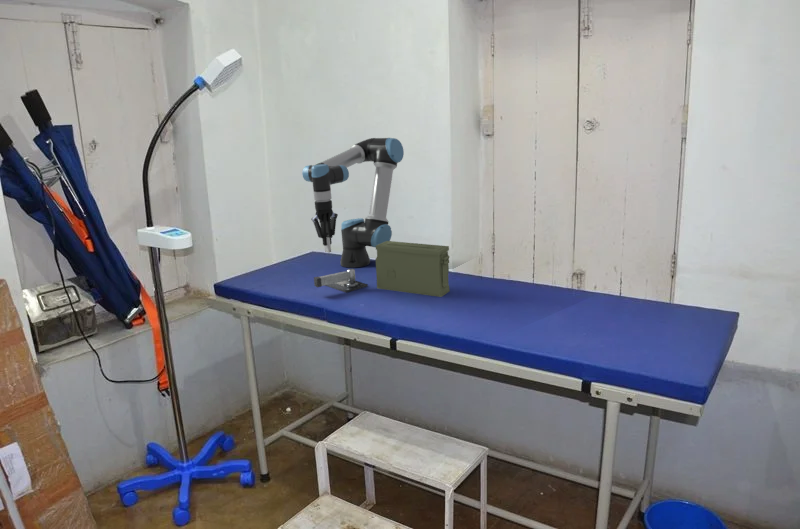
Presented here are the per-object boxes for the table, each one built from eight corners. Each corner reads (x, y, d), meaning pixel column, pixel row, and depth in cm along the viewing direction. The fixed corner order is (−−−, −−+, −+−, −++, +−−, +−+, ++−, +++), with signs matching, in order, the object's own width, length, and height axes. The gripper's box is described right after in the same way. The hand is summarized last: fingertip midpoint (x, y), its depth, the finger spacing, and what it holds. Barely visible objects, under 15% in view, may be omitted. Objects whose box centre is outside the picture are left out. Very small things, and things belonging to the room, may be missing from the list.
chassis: (339, 277, 286) (338, 272, 285) (367, 286, 270) (367, 281, 269) (318, 283, 278) (317, 278, 278) (346, 292, 262) (345, 287, 262)
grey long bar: (353, 280, 270) (352, 268, 269) (356, 282, 268) (356, 269, 266) (314, 289, 260) (313, 276, 259) (317, 291, 258) (316, 277, 256)
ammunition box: (443, 297, 250) (441, 251, 245) (376, 288, 266) (373, 244, 261) (452, 291, 258) (451, 245, 253) (387, 282, 274) (385, 240, 269)
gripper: (330, 197, 271) (334, 247, 277) (305, 201, 262) (311, 253, 269) (340, 198, 265) (344, 250, 272) (315, 203, 257) (321, 256, 264)
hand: (328, 251), depth 270 cm, fingers closed
